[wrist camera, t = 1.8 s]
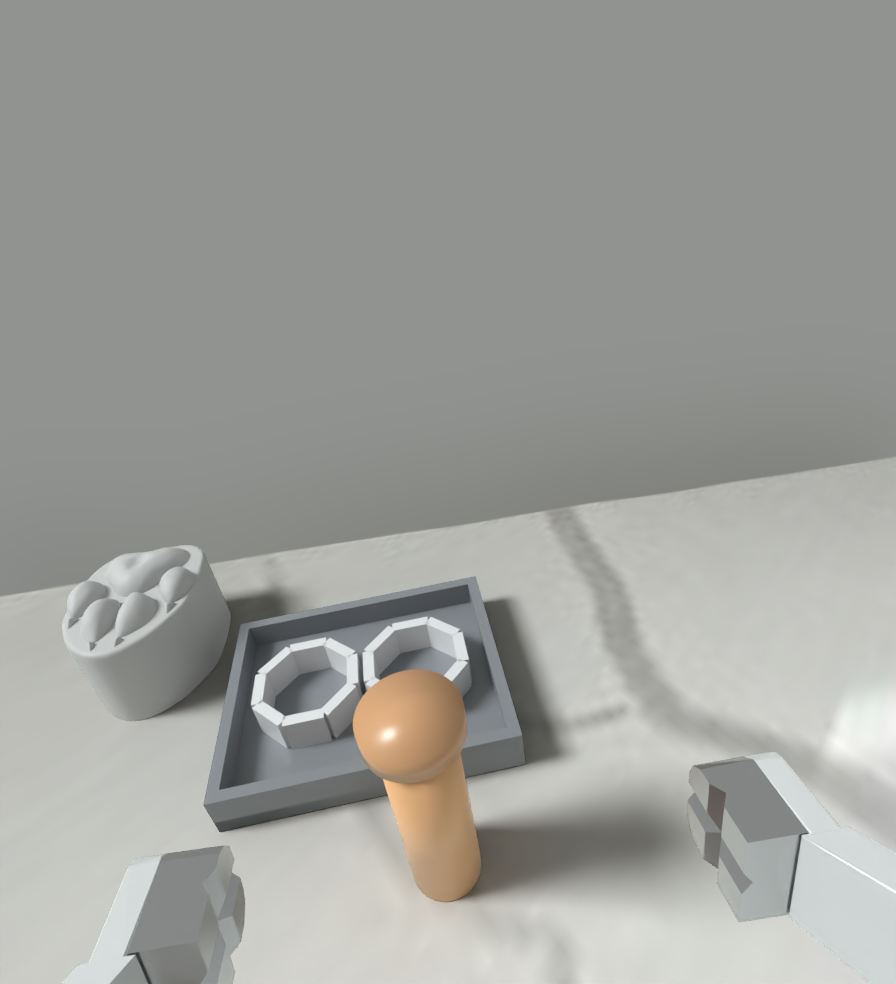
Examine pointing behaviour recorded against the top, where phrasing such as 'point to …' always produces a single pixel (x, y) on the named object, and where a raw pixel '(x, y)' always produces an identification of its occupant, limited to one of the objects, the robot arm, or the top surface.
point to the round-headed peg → (423, 775)
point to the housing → (348, 699)
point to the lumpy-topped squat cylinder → (147, 629)
